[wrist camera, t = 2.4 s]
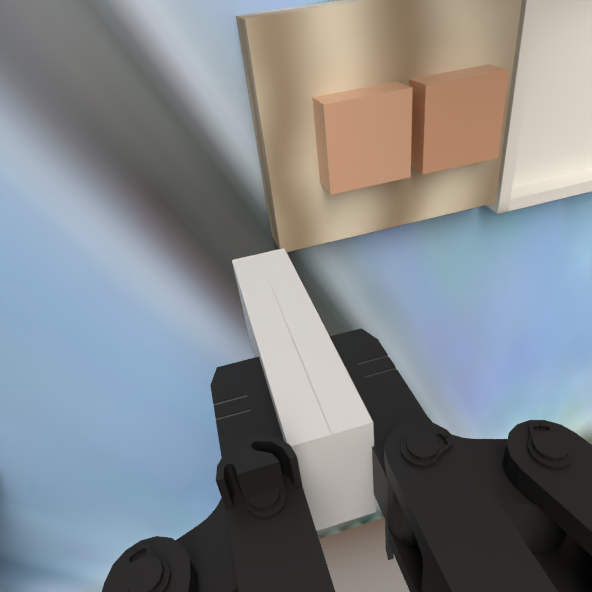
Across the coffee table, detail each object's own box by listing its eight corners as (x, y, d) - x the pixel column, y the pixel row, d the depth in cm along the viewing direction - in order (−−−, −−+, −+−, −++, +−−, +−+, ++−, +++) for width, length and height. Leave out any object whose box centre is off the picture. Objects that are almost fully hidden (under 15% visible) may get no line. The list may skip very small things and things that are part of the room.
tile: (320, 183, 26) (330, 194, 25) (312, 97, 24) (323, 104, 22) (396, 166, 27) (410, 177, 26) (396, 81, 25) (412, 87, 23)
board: (271, 235, 30) (281, 253, 28) (236, 16, 23) (245, 19, 21) (473, 189, 32) (495, 203, 30) (494, -25, 25) (525, -25, 23)
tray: (478, 201, 33) (497, 213, 31) (505, -49, 25) (533, -51, 23) (610, 170, 34) (636, 180, 33) (675, -75, 26) (713, -78, 25)
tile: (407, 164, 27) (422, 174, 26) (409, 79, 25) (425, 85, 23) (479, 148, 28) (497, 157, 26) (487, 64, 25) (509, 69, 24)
